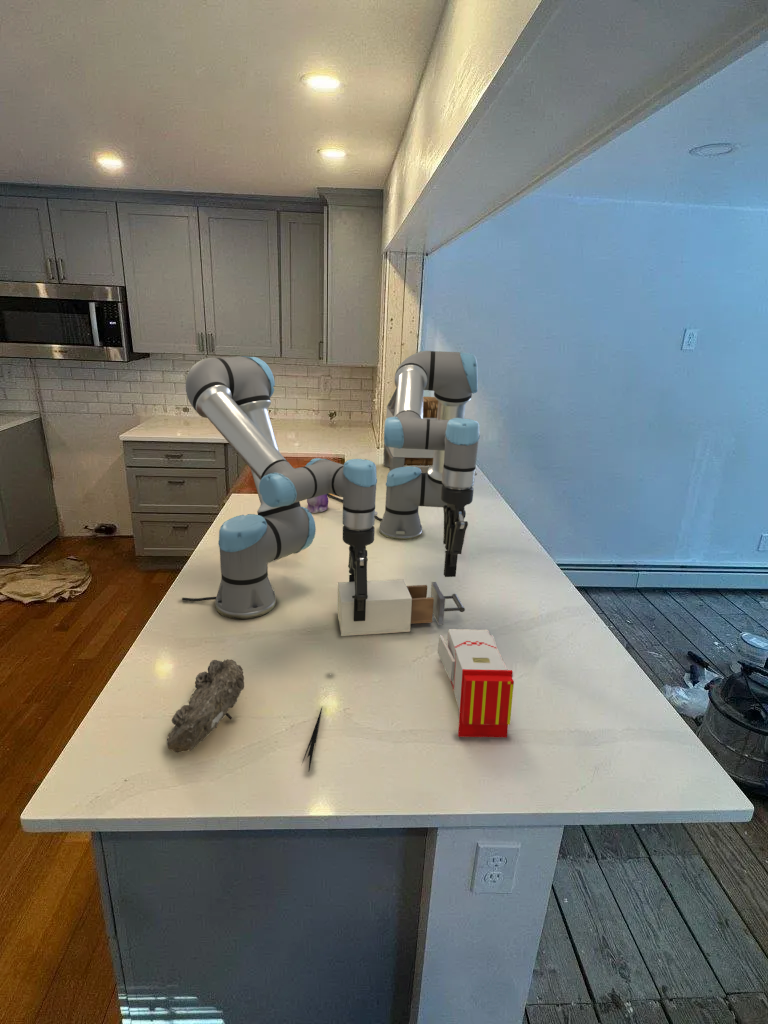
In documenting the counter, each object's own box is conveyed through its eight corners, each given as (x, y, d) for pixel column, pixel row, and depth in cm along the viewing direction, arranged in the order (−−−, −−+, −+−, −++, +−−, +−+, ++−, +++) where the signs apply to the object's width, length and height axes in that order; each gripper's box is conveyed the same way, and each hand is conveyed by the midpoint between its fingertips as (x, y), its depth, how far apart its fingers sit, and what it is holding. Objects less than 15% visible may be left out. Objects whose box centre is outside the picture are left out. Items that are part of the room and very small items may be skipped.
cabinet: (402, 610, 149) (403, 579, 146) (410, 631, 139) (411, 598, 136) (337, 614, 146) (337, 582, 143) (341, 636, 136) (341, 602, 133)
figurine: (310, 515, 213) (310, 476, 208) (301, 506, 222) (301, 469, 217) (333, 512, 218) (334, 474, 213) (323, 503, 226) (324, 467, 221)
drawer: (454, 605, 150) (456, 580, 148) (464, 623, 142) (467, 597, 139) (375, 610, 147) (375, 584, 144) (380, 628, 138) (381, 602, 136)
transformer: (382, 463, 289) (386, 382, 275) (445, 464, 293) (451, 384, 279) (390, 482, 257) (394, 392, 243) (460, 483, 261) (468, 394, 247)
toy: (488, 613, 130) (523, 677, 101) (484, 667, 133) (517, 744, 104) (435, 612, 130) (455, 676, 101) (432, 666, 133) (451, 743, 103)
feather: (331, 679, 122) (336, 673, 122) (307, 777, 96) (313, 769, 95) (324, 675, 122) (329, 669, 121) (298, 772, 95) (304, 764, 95)
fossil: (192, 660, 117) (244, 628, 112) (224, 691, 120) (276, 661, 115) (142, 746, 98) (202, 712, 93) (182, 779, 101) (242, 748, 96)
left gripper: (382, 544, 123) (378, 632, 131) (367, 508, 144) (365, 586, 152) (347, 545, 122) (346, 634, 129) (338, 509, 143) (337, 587, 150)
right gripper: (481, 493, 128) (472, 587, 136) (464, 477, 140) (456, 564, 148) (449, 494, 127) (441, 588, 135) (435, 477, 139) (428, 564, 147)
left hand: (356, 608), depth 140 cm, fingers closed on cabinet, 10 cm apart
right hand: (449, 575), depth 142 cm, fingers closed
